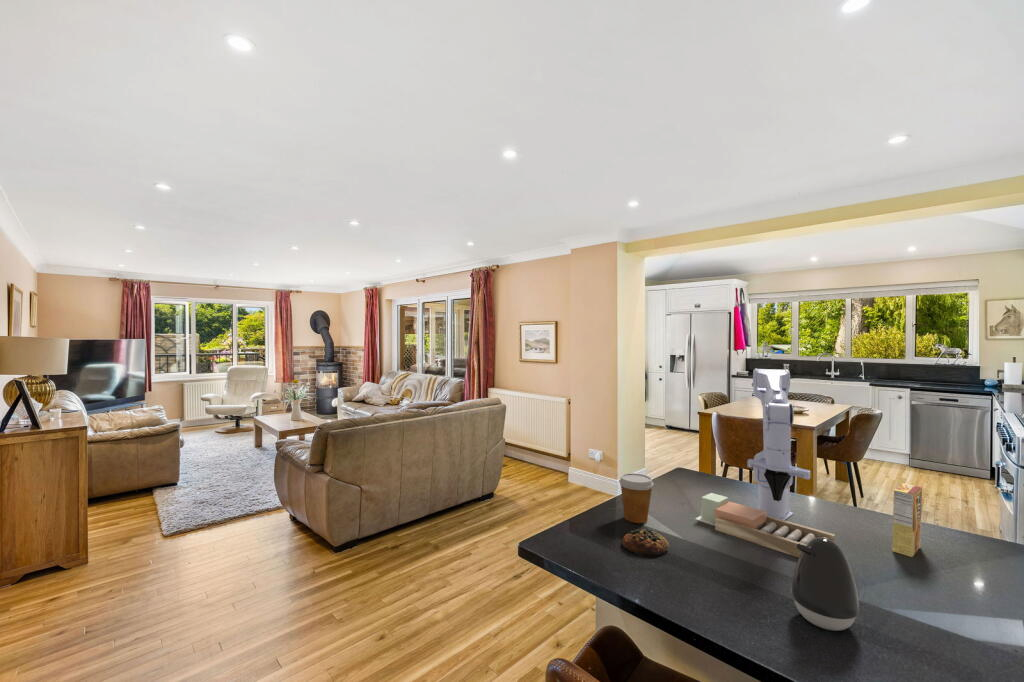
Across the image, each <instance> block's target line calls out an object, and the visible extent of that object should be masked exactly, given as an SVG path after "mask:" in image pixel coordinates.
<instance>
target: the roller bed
mask: <svg viewBox="0 0 1024 682" xmlns="http://www.w3.org/2000/svg"><path fill="white" fill-rule="evenodd" d="M694 521H698V522H702V523H705V524H708V525H711V526H714V531H717V532H720V533H724V534H727V535H729V536H732V537H737V538H739V539H742V540H745V541H748V542H751V543H754V544H756V545H759V546H762V547H765V548H768V549H772V550H773V551H774V550H775V551H777V552H781V553H784V554H787V555H790V556H793V557H794V558H795V557H796V558H798V559H799V557H800V555H801V553H802V551H801V550H799V549H797V544H802V545H807V544H808V542H809V541H811V540H812V539H814V538H827V539H829V540H832V541H833V542H835V543H836V534H834V533H830V532H828V531H824V530H820V529H817V528H814V527H813V528H812V527H809V526H805V525H801V524H799V523H795V522H792V521H787V520H781V519H777V518H774V517H770V516H767V521H766V522H764V523H763V524H761V525H760V526H758V527H757V528H755V529H754V528H750V527H747V526H744V525H741V524H737V523H734V522H731V521H727V520H724V519H721V518H718V517H717V518H715V522H712V521H709V520H705V519H702V518H701V515H699V516H697V517H696V518H694ZM799 540H800V541H799Z"/></svg>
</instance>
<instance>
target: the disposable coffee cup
mask: <svg viewBox="0 0 1024 682" xmlns="http://www.w3.org/2000/svg"><path fill="white" fill-rule="evenodd" d="M618 482H619V484H620V491H621V497H622V509H623V517H624V518H625V519H626V520H628V521H630V522H634V523H643V524H646V523H647V522H648V517H649V512H650V511H649V510H650V504H651V497H652V491H653V487H654V482H653V478H652V477H651V476H649V475H646V474H642V473H635V472H633V473H632V472H631V473H624V474H621V476H620V479H619V480H618ZM625 519H624V520H625ZM626 520H625V521H626ZM628 521H627V522H628ZM630 522H629V523H630ZM645 522H646V523H645ZM634 523H633V524H634Z"/></svg>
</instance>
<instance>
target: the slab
mask: <svg viewBox="0 0 1024 682" xmlns="http://www.w3.org/2000/svg"><path fill="white" fill-rule="evenodd" d="M717 517H718V518H721V519H724V520H727V521H731V522H734V523H737V524H741V525H744V526H747V527H750V528H754V529H755V528H757V527H758V526H760V525H761V524H763V523H764V522H766V521H767V512H766V511H762V510H759V509H758V508H755V507H751V506H748V505H744V504H740V503H737V502H732V501H728V502H727V503H725V504H724V505H722V506H720V507H718V508H716V509H715V518H717Z"/></svg>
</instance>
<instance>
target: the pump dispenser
mask: <svg viewBox="0 0 1024 682" xmlns="http://www.w3.org/2000/svg"><path fill="white" fill-rule="evenodd" d="M797 549H799V550H801V551H802V553H801V555H800V557H799V558H798V560H797V562H796V565H795V568H794V572H793V576H792V582H791V591H790V594H791V596H792V599H793V601H794V604H795V607H796V608H797V610H798V612H799V613H800V614H801V615H802V617H803V618H804V619H805V620H807V621H808V622H809V623H810V624H812V625H814V626H816V627H818V628H821V629H824V630H827V631H844V630H846V629H848V628H849V627H851V626H852V625H853V623H854V622H855V620H856V618H857V617H858V616H859V613H860V603H859V597H858V591H857V590H858V589H857V585H856V582H855V578H854V573H853V571H852V568H851V566H850V564H849V561H848V559H847V557H846V555H845V553H844V552H843V550H842V548H841V547H840V546H839V545H838V543H836V541H835V542H833V541H832V540H829V539H827V538H814V539H812V540H811V541H809V542H808V544H807V545H802V544H797Z"/></svg>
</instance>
